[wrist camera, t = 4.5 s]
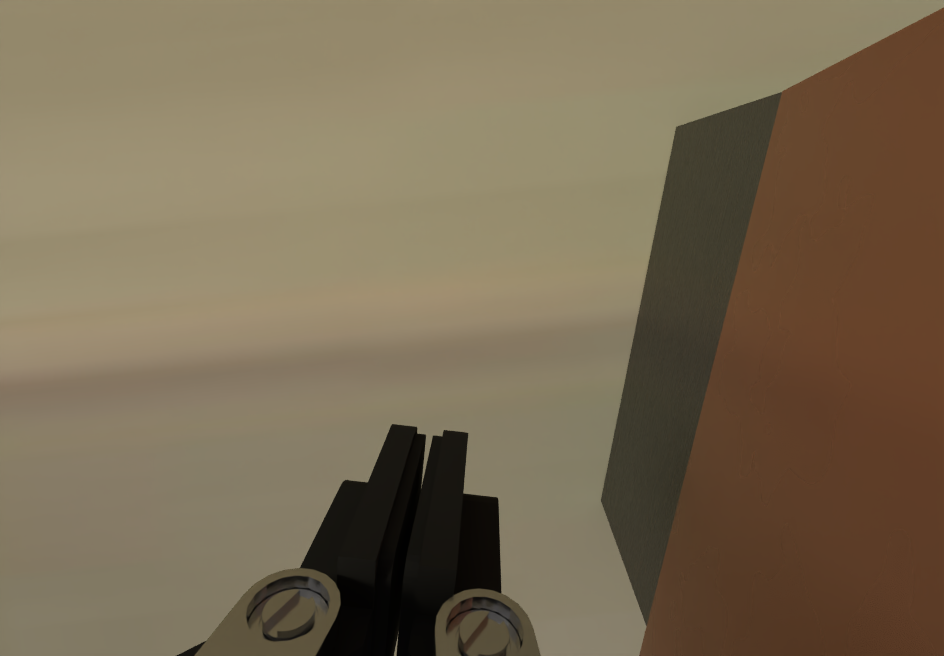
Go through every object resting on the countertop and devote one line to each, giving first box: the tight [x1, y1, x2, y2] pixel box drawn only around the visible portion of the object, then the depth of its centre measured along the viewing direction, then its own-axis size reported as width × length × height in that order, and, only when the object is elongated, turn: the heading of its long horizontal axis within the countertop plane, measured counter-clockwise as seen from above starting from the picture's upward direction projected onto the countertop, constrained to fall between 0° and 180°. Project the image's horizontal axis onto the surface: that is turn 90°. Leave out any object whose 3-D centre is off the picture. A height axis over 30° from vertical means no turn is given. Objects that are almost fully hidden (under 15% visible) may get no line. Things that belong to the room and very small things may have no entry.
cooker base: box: [601, 92, 782, 626], centre depth 20 cm, size 25×17×10 cm
